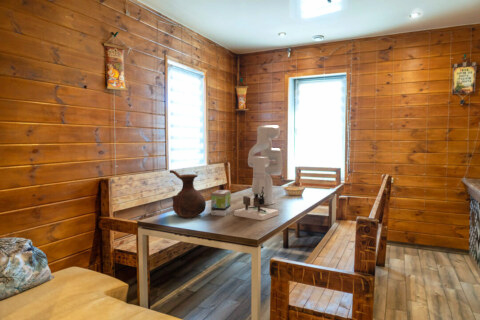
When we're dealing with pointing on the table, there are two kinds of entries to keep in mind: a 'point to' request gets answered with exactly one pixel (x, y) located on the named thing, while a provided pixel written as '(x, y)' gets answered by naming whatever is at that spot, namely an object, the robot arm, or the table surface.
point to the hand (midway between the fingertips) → (259, 203)
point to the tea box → (220, 202)
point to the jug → (188, 198)
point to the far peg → (247, 202)
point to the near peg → (256, 203)
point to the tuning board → (256, 213)
